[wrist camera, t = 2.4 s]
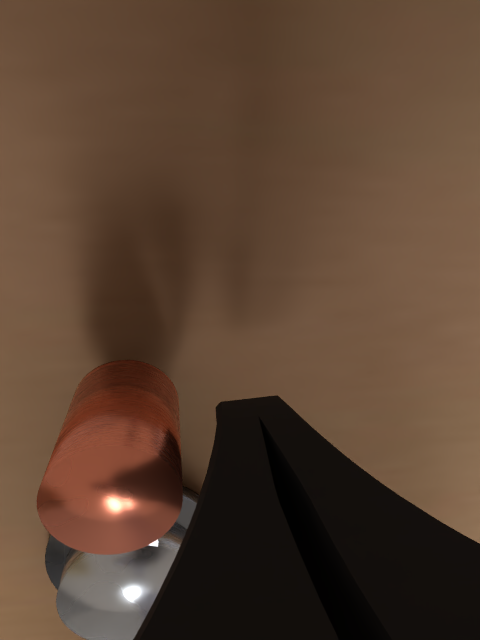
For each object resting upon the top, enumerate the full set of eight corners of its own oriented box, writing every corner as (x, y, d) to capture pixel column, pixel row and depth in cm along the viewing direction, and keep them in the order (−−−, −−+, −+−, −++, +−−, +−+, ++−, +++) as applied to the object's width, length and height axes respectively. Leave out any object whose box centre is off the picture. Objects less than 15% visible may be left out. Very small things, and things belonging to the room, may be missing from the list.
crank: (199, 604, 14) (210, 747, 11) (70, 618, 13) (37, 775, 10) (211, 347, 10) (231, 440, 7) (38, 349, 10) (-28, 451, 7)
